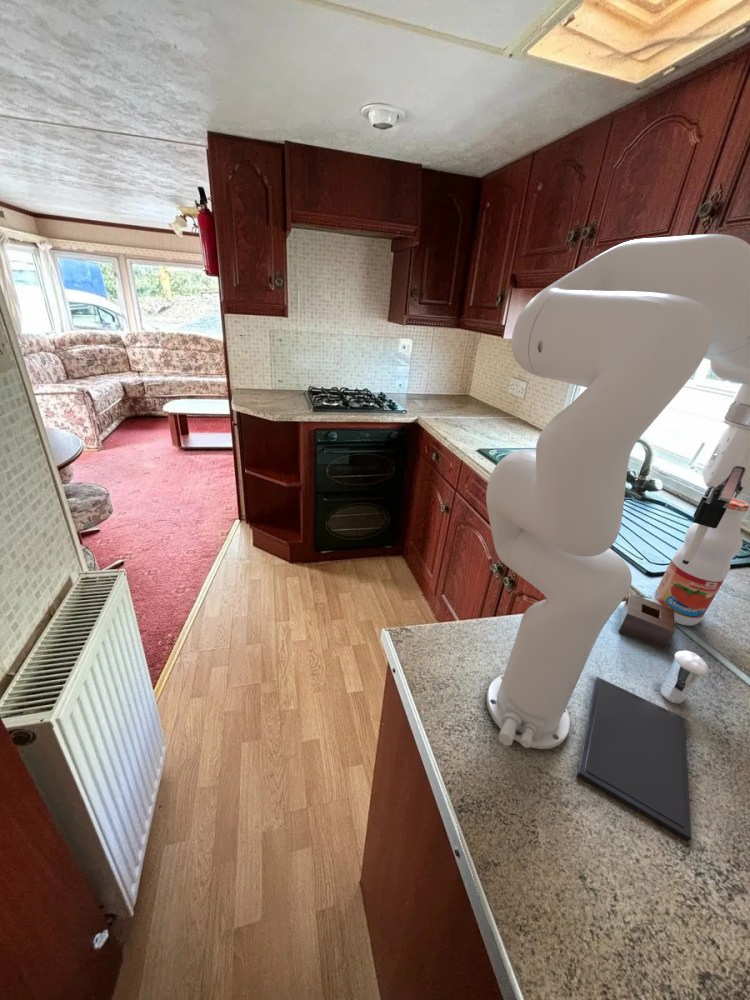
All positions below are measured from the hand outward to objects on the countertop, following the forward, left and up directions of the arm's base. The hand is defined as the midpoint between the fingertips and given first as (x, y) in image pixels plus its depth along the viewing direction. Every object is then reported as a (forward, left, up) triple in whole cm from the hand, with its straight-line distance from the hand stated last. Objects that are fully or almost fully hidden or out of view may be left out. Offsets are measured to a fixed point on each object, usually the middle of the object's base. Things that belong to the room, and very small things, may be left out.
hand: (704, 522), depth 70 cm
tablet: (-28, 0, -28) cm, 39 cm away
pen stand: (+3, 0, -27) cm, 28 cm away
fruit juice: (+15, -6, -28) cm, 32 cm away
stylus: (0, 0, -9) cm, 9 cm away
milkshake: (-13, -5, -28) cm, 31 cm away
